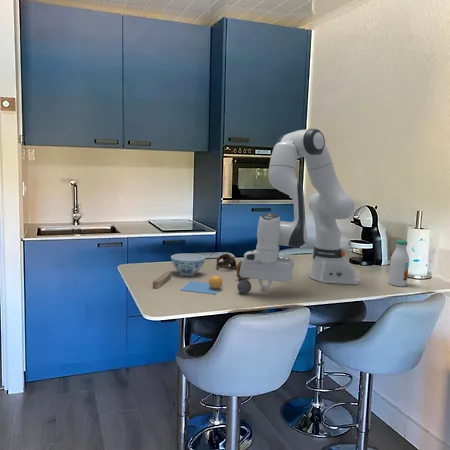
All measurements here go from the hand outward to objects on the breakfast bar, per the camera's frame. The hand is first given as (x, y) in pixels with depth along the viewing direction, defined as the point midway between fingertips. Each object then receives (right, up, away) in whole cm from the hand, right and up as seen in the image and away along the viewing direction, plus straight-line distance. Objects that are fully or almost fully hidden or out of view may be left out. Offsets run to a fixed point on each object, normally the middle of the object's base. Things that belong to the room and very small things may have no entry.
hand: (264, 290), depth 177 cm
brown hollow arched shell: (-15, +4, +41) cm, 43 cm away
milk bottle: (+62, -1, +27) cm, 68 cm away
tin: (-6, +2, +25) cm, 26 cm away
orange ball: (-19, +3, +4) cm, 20 cm away
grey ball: (-8, +2, 0) cm, 8 cm away
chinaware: (-32, +3, +26) cm, 42 cm away
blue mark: (-24, 0, +5) cm, 25 cm away
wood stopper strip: (-41, +2, +9) cm, 42 cm away
